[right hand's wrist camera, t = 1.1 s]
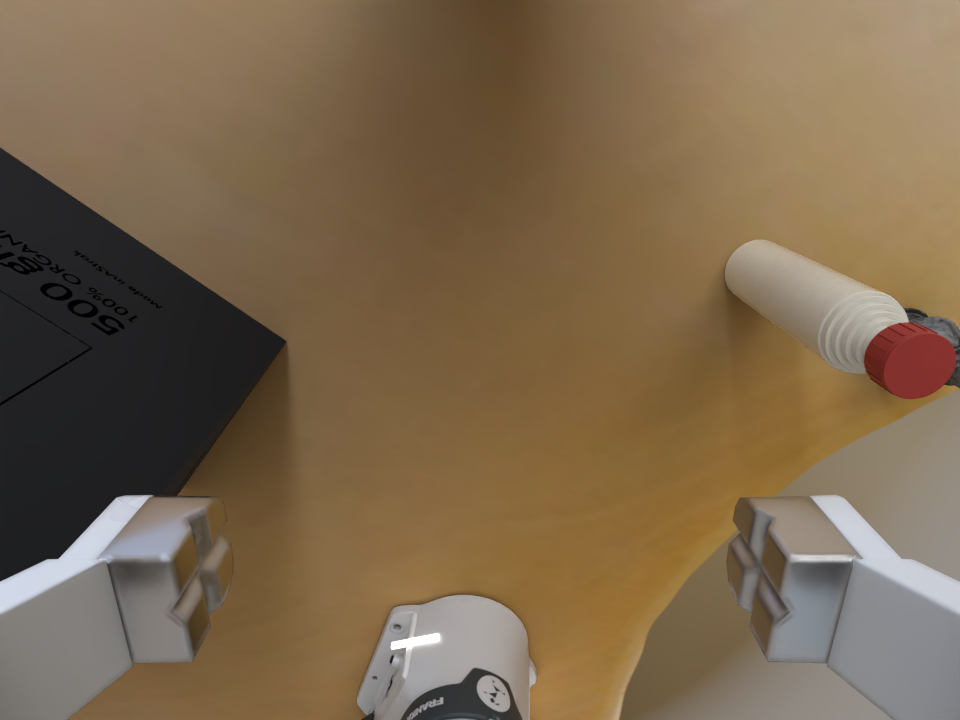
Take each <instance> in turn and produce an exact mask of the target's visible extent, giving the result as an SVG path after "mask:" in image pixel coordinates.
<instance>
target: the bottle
mask: <svg viewBox="0 0 960 720" xmlns="http://www.w3.org/2000/svg"><path fill="white" fill-rule="evenodd" d="M725 281H726V284H727V287H728V288H729V290H730V291H731V292H732V293H733V294H734V295H735V296H736V297H738V298H739V299H740V300H742V301H743V302H745V303H746V304H747V305H749V306H750V307H751V308H753V309H754V310H755V311H757V312H758V313H759V314H761V315H762V316H764V317H765V318H766V319H768V320H769V321H770V322H772V323H773V324H774V325H776V326H777V327H778V328H780V329H781V330H783V331H784V332H785V333H787V334H788V335H789V336H791V337H792V338H793V339H795V340H796V341H798V342H799V343H800V344H802V345H803V346H804V347H806V348H807V349H808V350H810V351H811V352H812V353H814V354H815V355H817V356H818V357H819V358H821V359H822V360H823V361H825V362H826V363H827V364H829V365H830V366H832V367H833V368H835V369H838V370H840V371H844V372H848V373H854V374H863V373H867V372H865V371H866V369H865V366H864V355H865V351H866V349H867V347H868V345H869V343H870V341H871V340H872V339H873V338H874V337H875V336H876V335H877V334H878V333H879V332H880V331H881V330H883V329H885V328H887V327H888V326H891V325H894V324H898V323H904V322H909V321H908V317H907V314H906V312H905V310H904V309H903V308H902V306H901V305H900V304H899V303H898V302H897V301H896V300H895V299H894V298H893V297H891V296H889V295H887V294H885V293H883V292H881V291H879V290H876V289H874V288H872V287H870V286H868V285H866V284H863V283H861V282H859V281H857V280H855V279H852V278H850V277H848V276H846V275H844V274H842V273H839V272H837V271H835V270H833V269H831V268H828V267H826V266H824V265H822V264H820V263H818V262H815V261H813V260H811V259H809V258H807V257H804V256H802V255H800V254H798V253H796V252H794V251H791V250H789V249H787V248H785V247H783V246H780V245H778V244H776V243H774V242H772V241H769V240H753V241H750V242H747V243H745V244H743V245H741V246H740V247H739V248H737V249H736V250H735V251H734V252H733V254H732V255H731V256H730V258H729V260H728V262H727V264H726V268H725Z"/></svg>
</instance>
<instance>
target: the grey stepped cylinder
mask: <svg viewBox="0 0 960 720" xmlns="http://www.w3.org/2000/svg"><path fill="white" fill-rule="evenodd" d="M904 310H905V312H906V314H907V317H908V321H909V323H910V322H912V323H915V324H918V325H920V324H921V325H923V326H925V327H927V328H929V329H931V330H933V331H935V332H937V333H938V335H940V336H943V337H944V338H946V339H947V340H948V341H949V342H950V343H951V344H952V346H953V347H954V350H955V353H956V364H955V368H954V371H953V373H952V375H951V377H950V378H949V379H948V381H947V382H946V383H945V384H944V385H949V386H952V385H955V386H957V387H959V388H960V330H959V328H958V327H957V326H956V325H955V324H954V323H953V322H951V321H950V320H948V319H946V318H942V317H928V316H927V315H926V314H925V313H923V312H922V311H920V310H917V309H913V308H907V309H904Z"/></svg>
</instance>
